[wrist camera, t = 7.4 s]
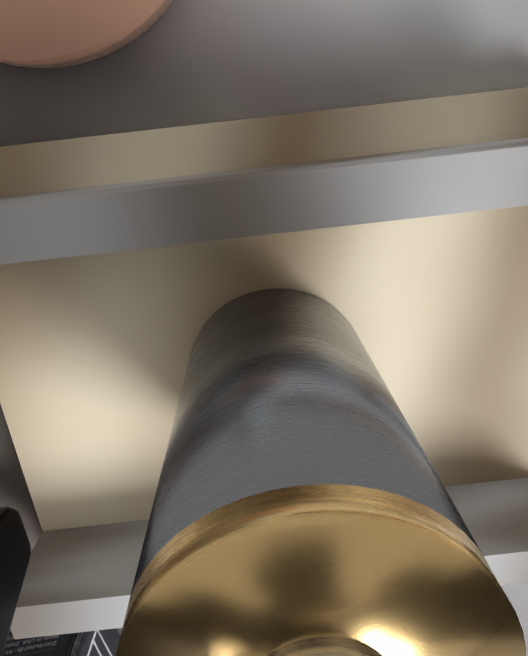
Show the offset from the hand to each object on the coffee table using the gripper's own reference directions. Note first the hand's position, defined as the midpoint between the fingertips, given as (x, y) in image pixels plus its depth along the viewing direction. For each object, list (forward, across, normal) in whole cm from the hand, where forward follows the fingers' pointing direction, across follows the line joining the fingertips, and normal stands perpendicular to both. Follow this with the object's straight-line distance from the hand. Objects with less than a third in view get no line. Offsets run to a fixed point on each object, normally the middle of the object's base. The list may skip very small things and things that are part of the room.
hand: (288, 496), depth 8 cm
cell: (+5, 0, 0) cm, 5 cm away
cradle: (+6, 0, 0) cm, 6 cm away
